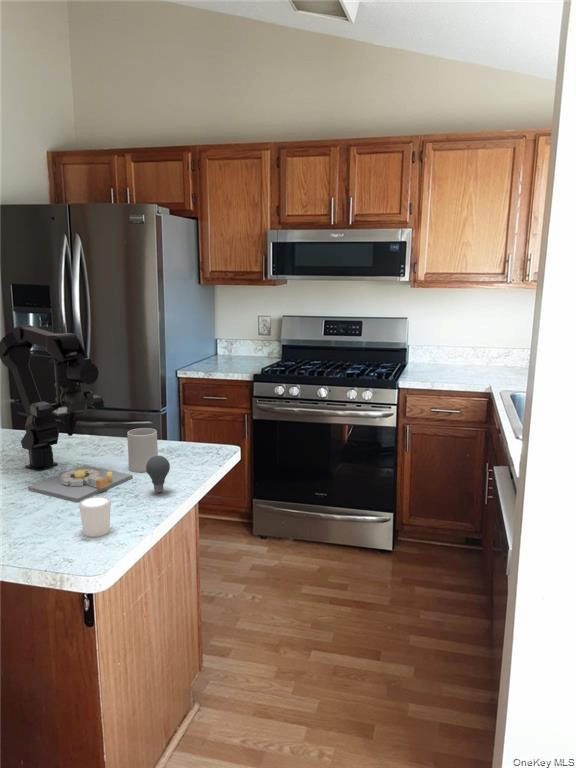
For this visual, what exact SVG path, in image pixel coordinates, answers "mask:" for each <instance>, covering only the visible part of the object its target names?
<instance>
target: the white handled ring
mask: <svg viewBox="0 0 576 768" xmlns="http://www.w3.org/2000/svg"><path fill="white" fill-rule="evenodd" d="M72 470H73V469H72ZM78 470H79V469H78ZM83 470H85V476H87V477H85V478H77V479H74V478H75V476H74V471H75V470H73V471H70V470H68V471H69V472H68V471H65V472H66V473H65V472H63V473H64V474H62V473H61V474H62V475H61V477H60V478H59V479H60V483H61V484H63V485H66V486H69V485H70V486H83V485H84V484H85V485H90V486H93V487H96V488H98V489H102V488H105V487H108V479H107V478H102V477H100V473H99V471H96V470H93V469H91V470H89V469H83Z"/></svg>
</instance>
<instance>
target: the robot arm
mask: <svg viewBox="0 0 576 768" xmlns="http://www.w3.org/2000/svg"><path fill="white" fill-rule="evenodd" d="M35 345H36V346H39V347H42V348H44V349H45V350H46V352H47V353H48V354H50V355H52V356H53V357H52V358H50V360H49V363H51V364H53V365H54V379H55V383H54V384H53V385H54V388H55V392H56V397H55V402H56V403H49V402H46V401H42V399H41V396H40V393H39V391H38V387H37V385H36V382H35V379H34V376H33V373H32V370H31V368H30V362H31V359H32V353H31V350H32V349H33V347H34V346H35ZM0 360H1V363H2V364H3V365H4V366H5V367H6V368H8V369H9V370H10V371H11V373H12V377H13V378H14V379H13V380H14V382H15V385H16V387H17V390H18V391H17V392H18V394H19V396H20V399H21V403H22V405H23V408H24V411H25V413H26V416H27V417H26V421H25V425H24V429H25V434H23V435H24V436H23V437H22V438H21V440H20V444H21V447H22V449H24V450H28V459H29V464H26V465H25V466H24V467H25V468H27V469H31V470H36V471H43V470H46V469H49V468H52V467H55V466H57V465H58V462H54V453H53V452H54V451H53V445H54V446H55V445H58V442H59V441H58V440H59V437H60V435H59V434H60V428H59V424H58V422H57V420H56V416H57V418H58V419H59V420H60V421H61V424H62V425H63V427H64V429H65V431H66V435H68V437H72V436H73V435H74V433H75V432H74V431H75V428H76V426H77V422H78V419H79V418H80V416H81V415H83V414H85V413H86V410H87V407H88V406H91V407H92V408H93V409H100V408H105V406H106V403H105V399H104V398H103V397H102V396H100V395H98V394H94V392H93V391H92V390H86V391H82V390H81V386H80V384H83V385H92V384H94V383H95V382H96V381H97V380H98V378H99V369H98V366H96V365H95V364H94V363H93V362H92V359H91V357H88V355H87V350H85V348H84V347H83V344H82V342H81V341H80V339H79V338H78V335H76V334H75V333H67V332H66V333H55V332H51V331H49V330H45V329H42V328H38V327H35V326H34V325H31V324H26V325H25V324H24V325H17V326H15V327H13V330H12V331H11V332H9V333H8V334H7V335H5V336H4V337H2V338H1V339H0Z"/></svg>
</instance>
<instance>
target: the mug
mask: <svg viewBox="0 0 576 768" xmlns="http://www.w3.org/2000/svg"><path fill="white" fill-rule="evenodd" d="M126 435H127V437H126V438H127V456H128V457H127V459H128V469H129V471H130V472H133V473H147V471H146V465H147V462H148V460H149V459H150V458H152V457H154V456H159V449H158V431H157V429H155V428H151V427H150V428H149V427H140V428H134V429H130V430H128V431H127V434H126Z"/></svg>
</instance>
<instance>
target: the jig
mask: <svg viewBox="0 0 576 768" xmlns="http://www.w3.org/2000/svg"><path fill="white" fill-rule="evenodd" d="M78 469H79V470H78ZM83 469H89V470H91V469H93V470H96V471H99V473H100V477H102V478H107V479H108V487H105V488H102V489H98V488H96V487H93V486H90V485H85V484H84V485H83V486H70V485H69V486H66V485H63V484H61V483H60V479H59V478H60V477H61V475H62V474H64V473H66V472H69V471H73V470H75V471H74V476H75V478H74V479H77V478H85V477H87V476H85V470H83ZM132 479H133V474H130V473H125V472H120V471H115V470H112V469H111V470H110V469H106V468H101V467H96V466H91V465H88V464H87V465H86V464H85V465H82V466H78V467H75V468H73V469H70V470H68V471H65V472H62V473H59V474H58V475H55V476H52V477H49V478H47V479H44V480H42V481H41V480H40V481H39V482H36V483H33V484H29V485H28V486H27V490H28V491H31V492H34V493H39V494H43V495H46V496H51V497H55V498H58V499H63V500H66V501H70V502H74V503H79V502H81V501H82V500H84V499H86V498H90V497H95V495H97V494H100V493H103V492H105V491H107V490H109V489H112V488H114V487H116V486H118V485H120V484H124V483H125V482H128V481H130V480H132Z"/></svg>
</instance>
